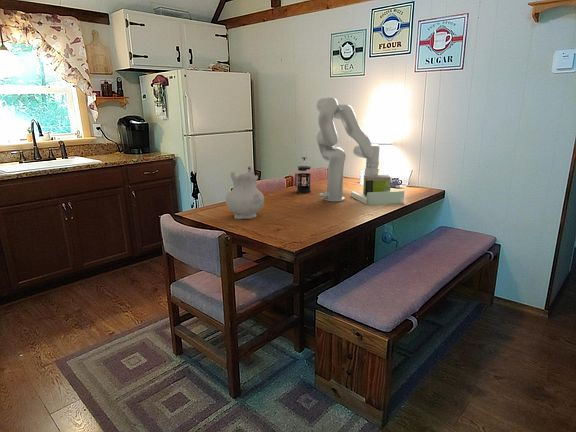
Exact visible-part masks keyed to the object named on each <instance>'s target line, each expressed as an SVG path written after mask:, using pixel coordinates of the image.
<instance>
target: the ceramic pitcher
mask: <svg viewBox="0 0 576 432" xmlns="http://www.w3.org/2000/svg"><path fill="white" fill-rule="evenodd" d="M230 178H231V181H232V184H233V188H232V190H230V191H229V192H227V194H226V196H225V203H226V207H227V208H228V210H229V211H230V212H231V213H232V214H234V217H233V218H234V219H235V220H243V219H244V220H245V219H248V220H249V219H250V220H251V219H255V218H257V217H258V215H257V214H256V213H258V212H260V211H261V210H262V208H263V207H264V203H265V196H264V194H263V193H262V192H261V191H260V190H259V189H258V188H257V187H258V186H257V181H258V179H259V176H258V174H256V175H255V170H254V168H253V166H248V167H247V173H241V174H239V175H236V172H235V171H232V172H230Z"/></svg>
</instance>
